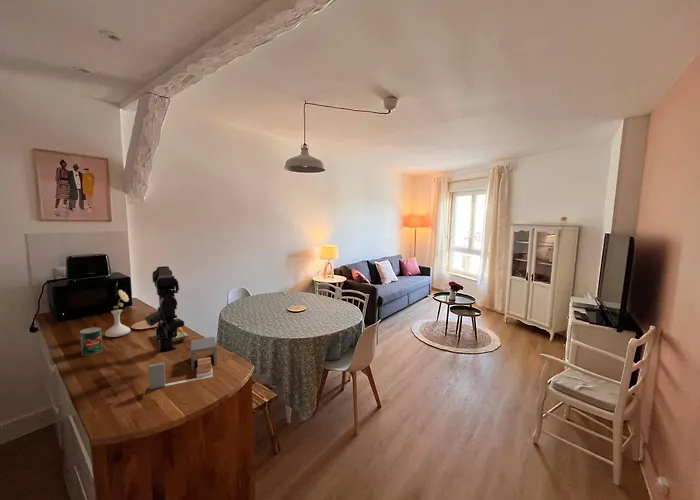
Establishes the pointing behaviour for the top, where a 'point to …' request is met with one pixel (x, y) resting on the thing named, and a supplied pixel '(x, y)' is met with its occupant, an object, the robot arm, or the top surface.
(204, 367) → the block
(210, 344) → the tunnel
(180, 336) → the puzzle game
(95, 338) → the canned tomato
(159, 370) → the grey white bent piece
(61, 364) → the top surface
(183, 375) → the top surface
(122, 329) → the flower in vase
